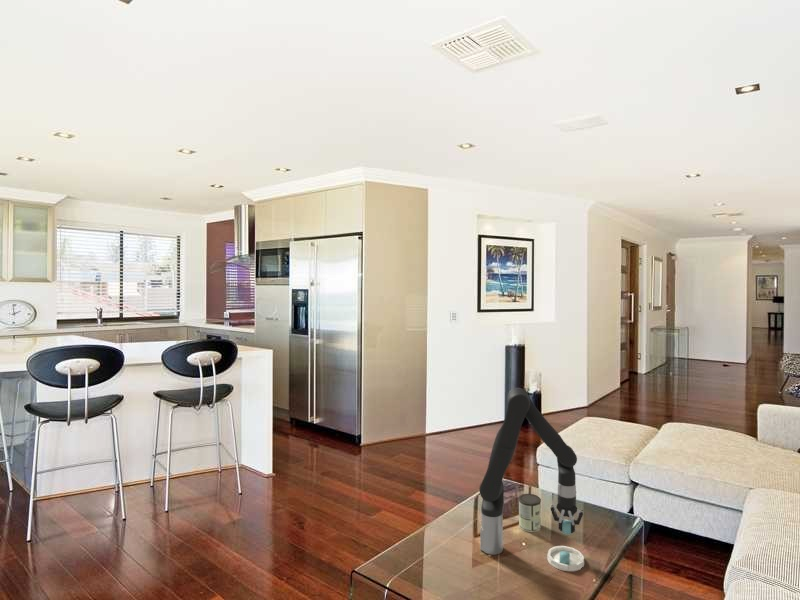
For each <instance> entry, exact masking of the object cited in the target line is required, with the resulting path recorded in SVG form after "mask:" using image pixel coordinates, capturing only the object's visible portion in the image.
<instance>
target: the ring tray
mask: <svg viewBox="0 0 800 600" xmlns="http://www.w3.org/2000/svg"><path fill="white" fill-rule="evenodd" d="M561 551H567V552H568V553H569V554H570V564H569V565H567V564H563V563H560V552H561ZM546 556H547V557H546V559H547V562H548V564H549V565H550V566H551V567H553V568H555V569H557V570H559V571H563V572H578V571H580V570H582V569H583V568H584V566H585V556H584V555H583V553H581V551H580V550H578V549H576V548H574V547H572V546H565V545H556V546H553V547H551V548H549V549H548V551H547V555H546ZM582 567H583V568H582ZM581 568H582V569H581Z"/></svg>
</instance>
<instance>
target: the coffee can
mask: <svg viewBox="0 0 800 600" xmlns="http://www.w3.org/2000/svg"><path fill="white" fill-rule="evenodd" d="M541 501H542V499H541V497H540V496H538V495H537V494H533V493H523V494H520V495H519V496H518V520H519V521H518V527H519V529H521V530H522V531H524V532H527V533H528V532H529V533H536V532H540V530H541V528H542V525H541V524H542V523H541V519H542V518H541V515H542V514H541V508H542V505H541Z"/></svg>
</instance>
